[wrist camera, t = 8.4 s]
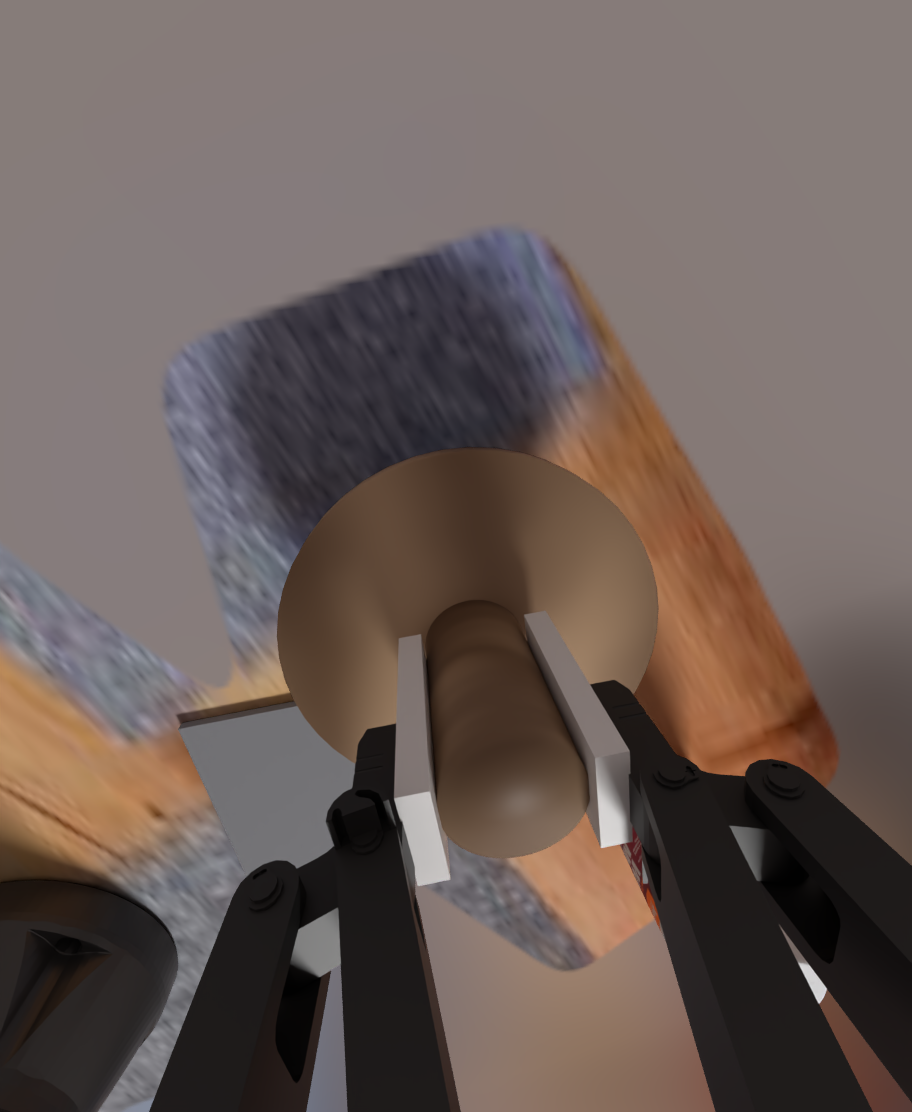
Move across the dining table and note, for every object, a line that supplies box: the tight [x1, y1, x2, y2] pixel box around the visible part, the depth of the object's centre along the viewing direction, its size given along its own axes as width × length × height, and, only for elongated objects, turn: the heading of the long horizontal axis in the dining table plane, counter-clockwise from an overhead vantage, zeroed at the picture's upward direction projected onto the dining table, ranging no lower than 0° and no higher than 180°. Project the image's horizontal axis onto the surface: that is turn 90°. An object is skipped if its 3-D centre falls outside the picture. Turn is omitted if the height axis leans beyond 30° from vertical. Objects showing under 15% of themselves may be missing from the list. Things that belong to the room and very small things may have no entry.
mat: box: [178, 701, 355, 877], centre depth 28 cm, size 12×12×1 cm
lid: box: [277, 447, 658, 858], centre depth 15 cm, size 14×14×8 cm
